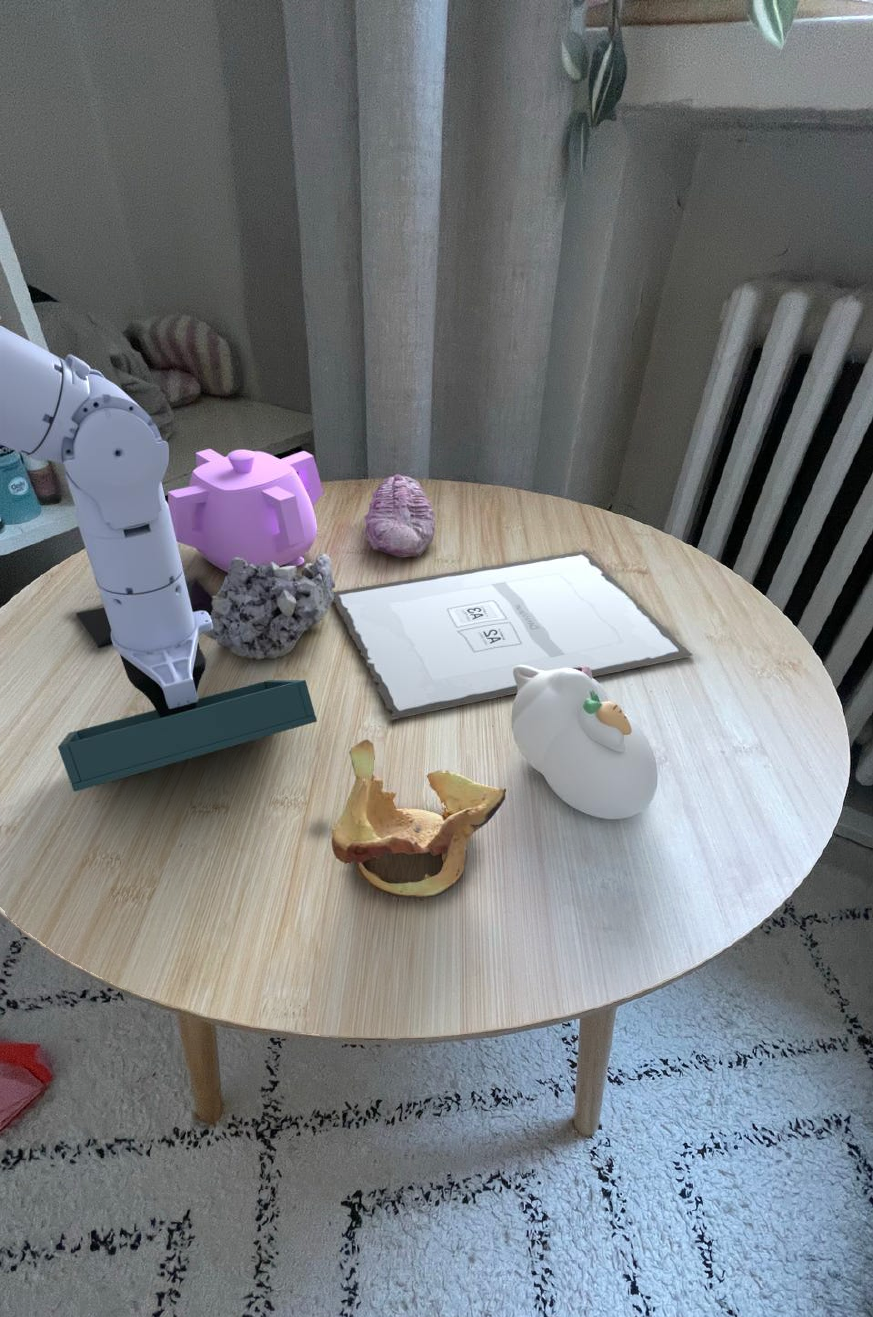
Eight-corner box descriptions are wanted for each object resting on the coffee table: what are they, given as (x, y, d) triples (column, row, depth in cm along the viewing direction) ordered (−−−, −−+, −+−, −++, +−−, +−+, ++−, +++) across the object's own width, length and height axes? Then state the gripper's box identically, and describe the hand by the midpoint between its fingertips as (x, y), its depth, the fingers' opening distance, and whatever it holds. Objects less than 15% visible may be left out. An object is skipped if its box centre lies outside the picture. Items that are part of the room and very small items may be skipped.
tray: (73, 792, 48) (57, 746, 48) (81, 769, 60) (68, 732, 60) (317, 721, 54) (305, 679, 53) (279, 713, 66) (269, 679, 65)
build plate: (194, 581, 82) (186, 540, 78) (223, 612, 77) (215, 570, 74) (75, 615, 76) (61, 573, 73) (99, 650, 72) (85, 607, 69)
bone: (357, 936, 50) (349, 852, 44) (310, 833, 56) (298, 747, 50) (519, 877, 53) (531, 792, 48) (457, 786, 60) (462, 702, 54)
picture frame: (391, 721, 65) (692, 656, 73) (391, 718, 65) (693, 654, 73) (328, 593, 80) (585, 551, 88) (328, 591, 80) (585, 549, 87)
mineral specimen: (340, 567, 77) (288, 507, 68) (366, 640, 73) (314, 587, 64) (239, 623, 79) (176, 573, 70) (259, 697, 75) (195, 654, 67)
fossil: (430, 508, 95) (431, 466, 92) (438, 565, 85) (440, 520, 82) (364, 507, 95) (363, 465, 91) (364, 565, 85) (363, 520, 81)
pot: (230, 621, 76) (208, 507, 68) (144, 557, 85) (115, 449, 77) (370, 562, 85) (365, 456, 77) (279, 510, 94) (266, 409, 86)
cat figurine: (681, 740, 50) (543, 611, 58) (585, 820, 50) (461, 680, 58) (693, 792, 58) (570, 672, 66) (610, 860, 58) (498, 733, 66)
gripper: (226, 611, 49) (256, 766, 59) (174, 519, 58) (207, 665, 68) (112, 637, 47) (163, 795, 56) (76, 536, 56) (125, 686, 65)
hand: (181, 726), depth 62 cm, fingers closed
